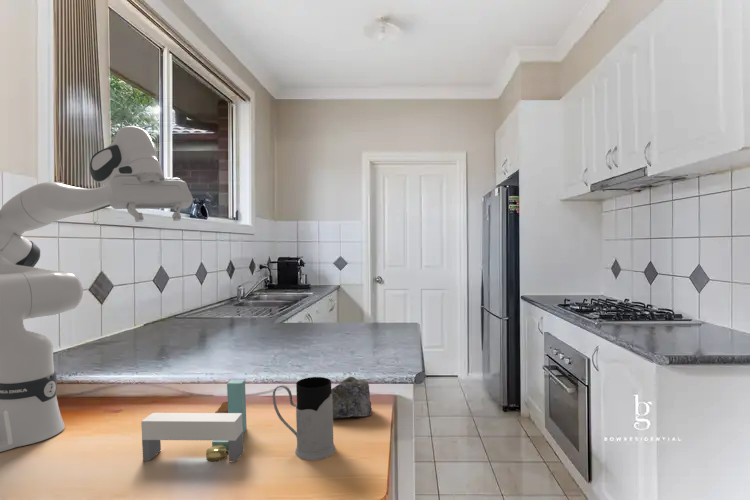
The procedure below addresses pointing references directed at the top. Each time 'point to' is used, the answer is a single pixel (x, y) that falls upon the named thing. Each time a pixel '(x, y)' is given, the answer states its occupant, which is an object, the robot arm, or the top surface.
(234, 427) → the white bench
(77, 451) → the top surface
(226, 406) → the primitive tool
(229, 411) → the block
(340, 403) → the mineral rock
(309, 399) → the glass holder
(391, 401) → the top surface
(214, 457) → the token
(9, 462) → the top surface
